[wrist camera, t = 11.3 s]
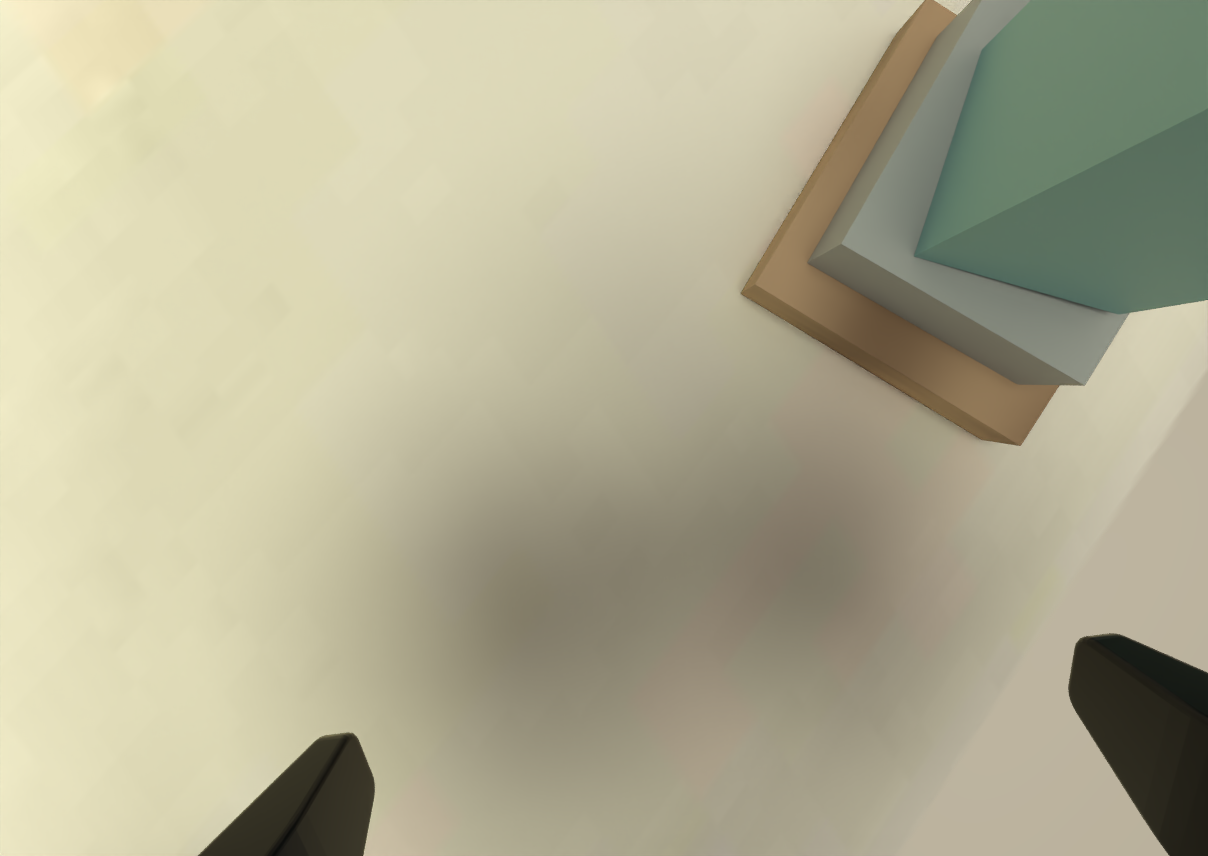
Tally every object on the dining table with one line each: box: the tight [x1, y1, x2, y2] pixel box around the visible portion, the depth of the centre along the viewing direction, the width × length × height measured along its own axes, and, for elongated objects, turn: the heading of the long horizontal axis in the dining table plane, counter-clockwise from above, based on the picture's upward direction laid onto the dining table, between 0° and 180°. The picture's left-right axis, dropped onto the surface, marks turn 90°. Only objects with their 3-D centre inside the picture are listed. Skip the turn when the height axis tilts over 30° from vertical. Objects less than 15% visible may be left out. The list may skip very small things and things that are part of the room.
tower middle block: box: [807, 0, 1129, 385], centre depth 16 cm, size 7×7×2 cm
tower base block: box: [741, 0, 1059, 446], centre depth 19 cm, size 9×9×2 cm
